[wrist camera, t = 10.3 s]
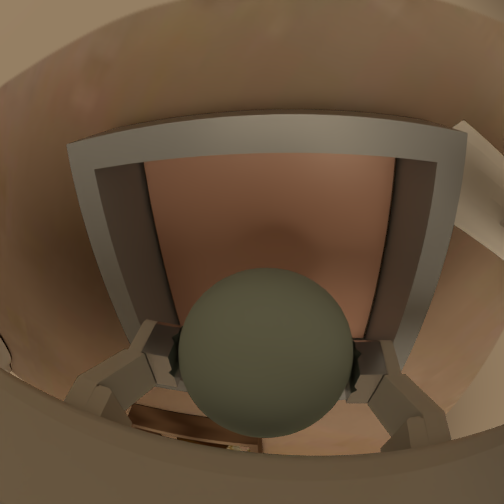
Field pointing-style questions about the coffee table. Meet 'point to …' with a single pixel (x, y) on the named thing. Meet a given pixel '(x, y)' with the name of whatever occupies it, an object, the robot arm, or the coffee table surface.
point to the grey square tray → (273, 211)
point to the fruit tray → (188, 427)
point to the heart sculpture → (482, 192)
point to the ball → (265, 352)
